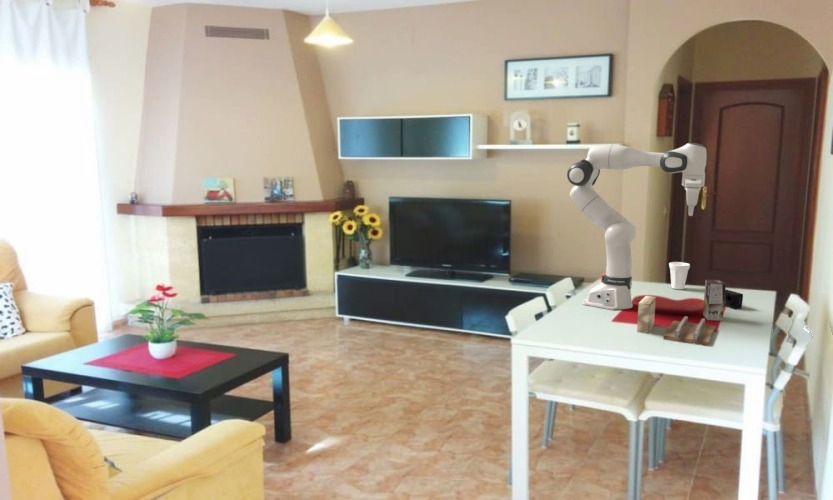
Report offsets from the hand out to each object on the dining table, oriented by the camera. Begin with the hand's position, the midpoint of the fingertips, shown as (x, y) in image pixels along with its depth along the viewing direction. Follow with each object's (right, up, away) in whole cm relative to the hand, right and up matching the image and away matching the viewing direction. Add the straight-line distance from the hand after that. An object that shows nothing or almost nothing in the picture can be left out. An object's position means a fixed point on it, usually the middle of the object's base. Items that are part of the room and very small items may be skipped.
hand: (690, 214), depth 283 cm
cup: (+18, -35, +60) cm, 72 cm away
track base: (-8, -49, -19) cm, 53 cm away
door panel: (-23, -47, -11) cm, 54 cm away
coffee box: (+12, -45, +5) cm, 47 cm away
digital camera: (+28, -42, +25) cm, 56 cm away
